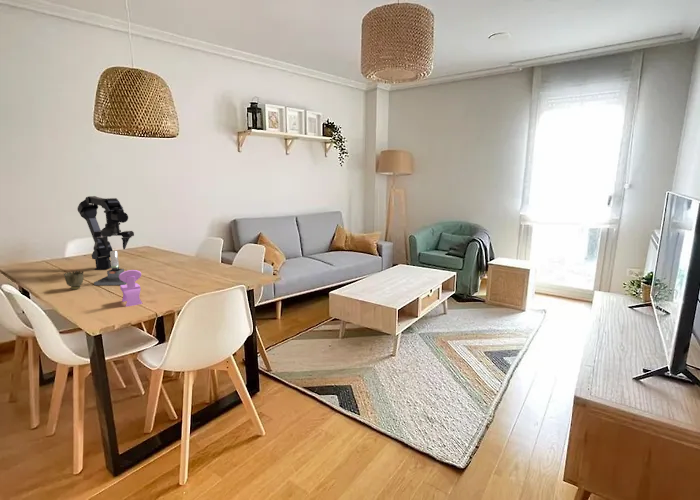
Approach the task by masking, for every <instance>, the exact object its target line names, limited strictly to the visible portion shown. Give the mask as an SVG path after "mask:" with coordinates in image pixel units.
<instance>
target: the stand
mask: <svg viewBox="0 0 700 500" xmlns="http://www.w3.org/2000/svg"><path fill="white" fill-rule="evenodd" d="M122 272H125V268H119V271H112V268H111V269H109V270H107V271H106V274H107V275H106V276H104V277H102V278H101V279H98V280H96V281H94V282H93V284H94V286H120V285H127V283H126V282H123V281H121V280H120V279H119V275H120V274H121V273H122Z"/></svg>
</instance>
